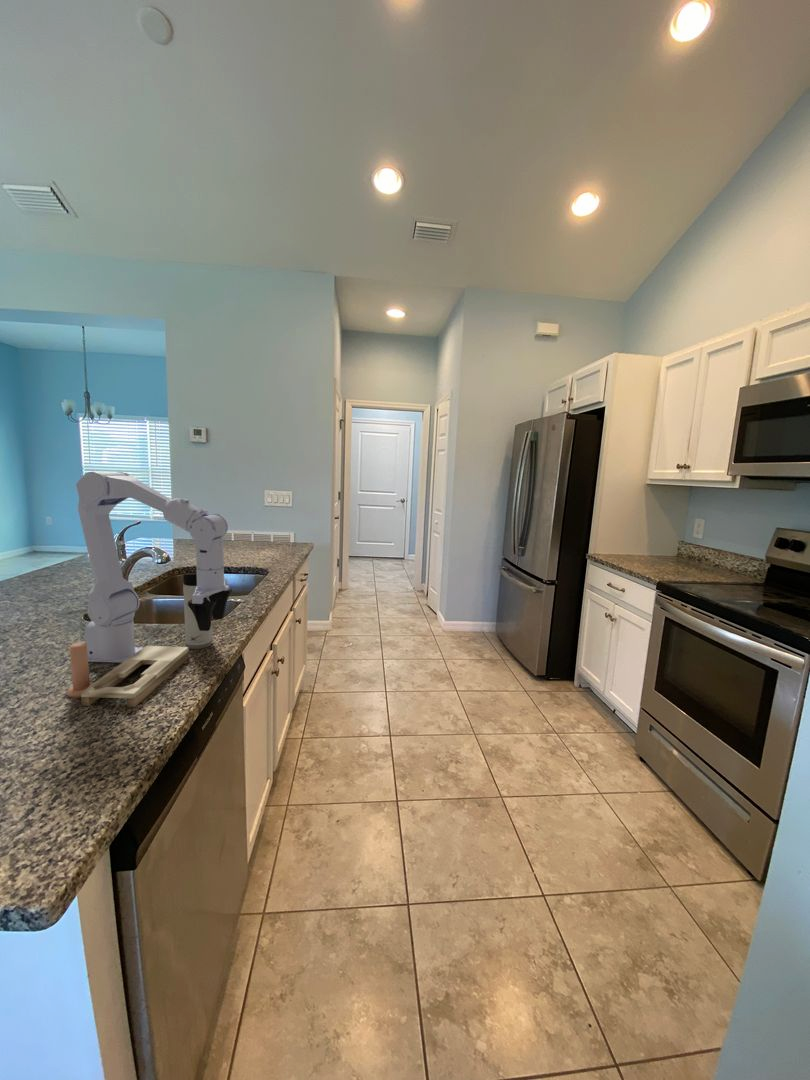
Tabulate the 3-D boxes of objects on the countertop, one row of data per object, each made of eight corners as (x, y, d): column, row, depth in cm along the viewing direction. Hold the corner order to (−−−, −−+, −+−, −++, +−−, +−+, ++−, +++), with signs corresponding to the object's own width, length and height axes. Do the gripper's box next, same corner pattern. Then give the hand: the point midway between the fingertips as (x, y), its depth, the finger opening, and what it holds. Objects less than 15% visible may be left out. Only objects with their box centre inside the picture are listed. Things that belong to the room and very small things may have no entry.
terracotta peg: (62, 697, 85) (58, 649, 84) (78, 686, 90) (75, 640, 88) (85, 697, 86) (81, 650, 84) (100, 686, 90) (96, 641, 88)
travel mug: (195, 651, 108) (192, 574, 105) (180, 645, 112) (177, 570, 109) (218, 644, 114) (216, 570, 110) (202, 638, 117) (200, 566, 114)
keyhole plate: (81, 705, 83) (80, 692, 82) (147, 656, 105) (146, 645, 104) (134, 707, 83) (133, 693, 83) (188, 658, 105) (188, 647, 104)
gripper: (215, 575, 92) (216, 636, 94) (239, 561, 106) (239, 614, 108) (181, 574, 91) (183, 635, 93) (210, 560, 106) (211, 613, 108)
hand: (211, 624), depth 101 cm, fingers open, 7 cm apart
